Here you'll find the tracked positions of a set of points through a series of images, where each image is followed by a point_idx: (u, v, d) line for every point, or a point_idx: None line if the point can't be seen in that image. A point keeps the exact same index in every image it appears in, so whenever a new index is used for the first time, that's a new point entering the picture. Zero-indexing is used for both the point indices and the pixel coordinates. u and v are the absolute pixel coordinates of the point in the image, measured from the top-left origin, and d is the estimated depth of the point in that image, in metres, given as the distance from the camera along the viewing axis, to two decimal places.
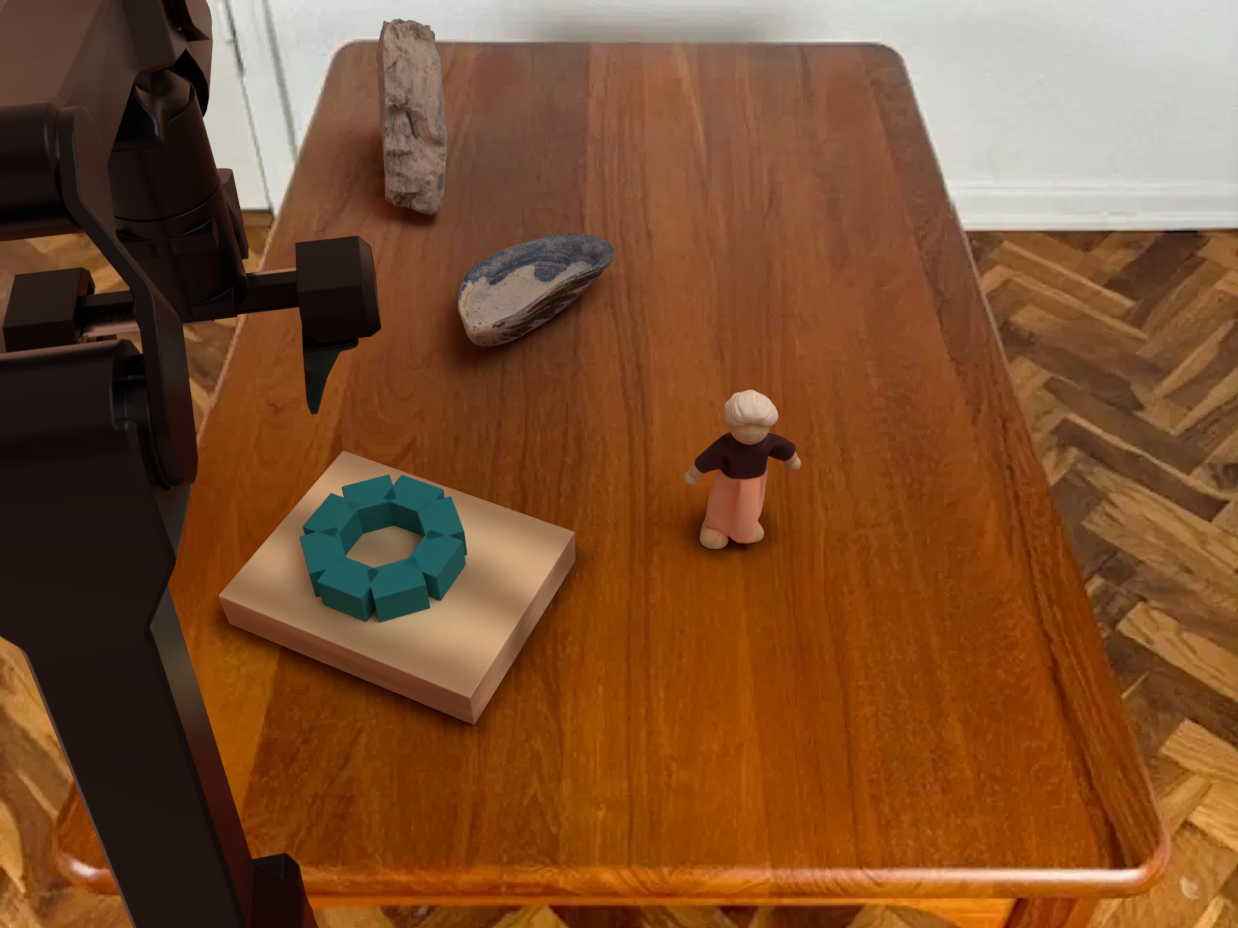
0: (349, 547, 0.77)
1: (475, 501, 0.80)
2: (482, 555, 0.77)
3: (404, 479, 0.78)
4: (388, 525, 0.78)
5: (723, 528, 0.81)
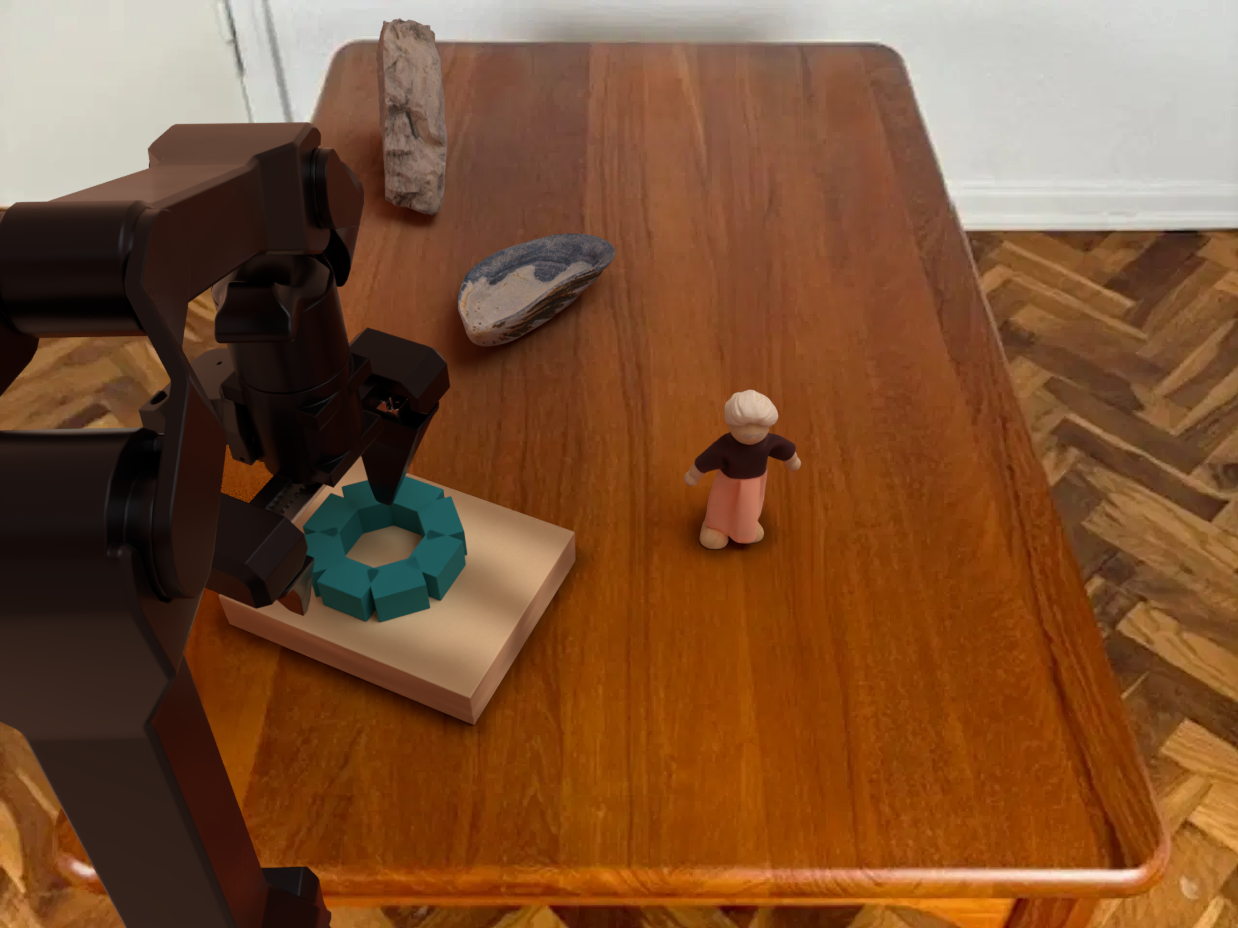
0: (349, 547, 0.77)
1: (475, 501, 0.80)
2: (482, 555, 0.77)
3: (404, 479, 0.78)
4: (388, 525, 0.78)
5: (723, 528, 0.81)
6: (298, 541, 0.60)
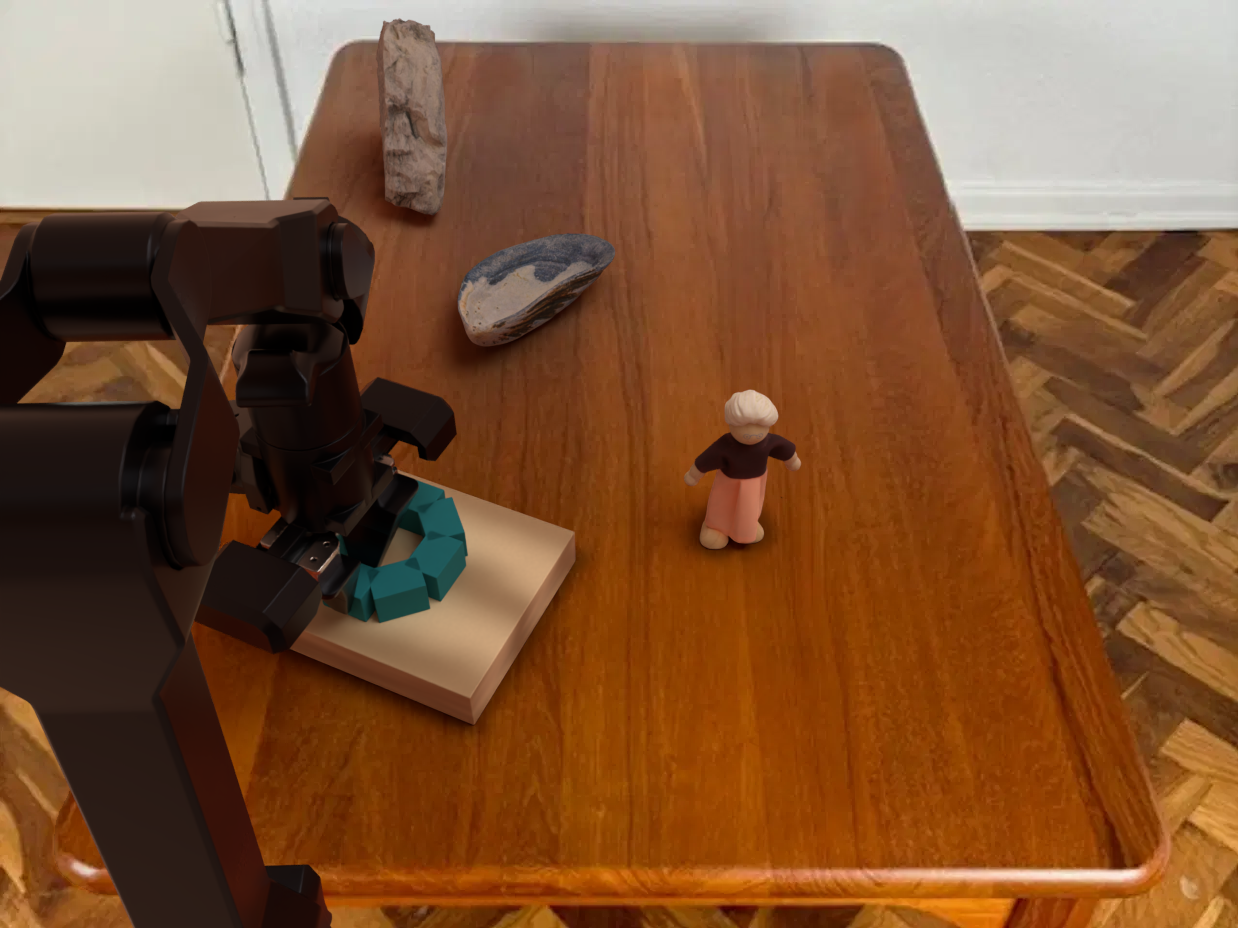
0: None
1: (475, 501, 0.80)
2: (482, 555, 0.77)
3: None
4: None
5: (723, 528, 0.81)
6: (313, 589, 0.63)
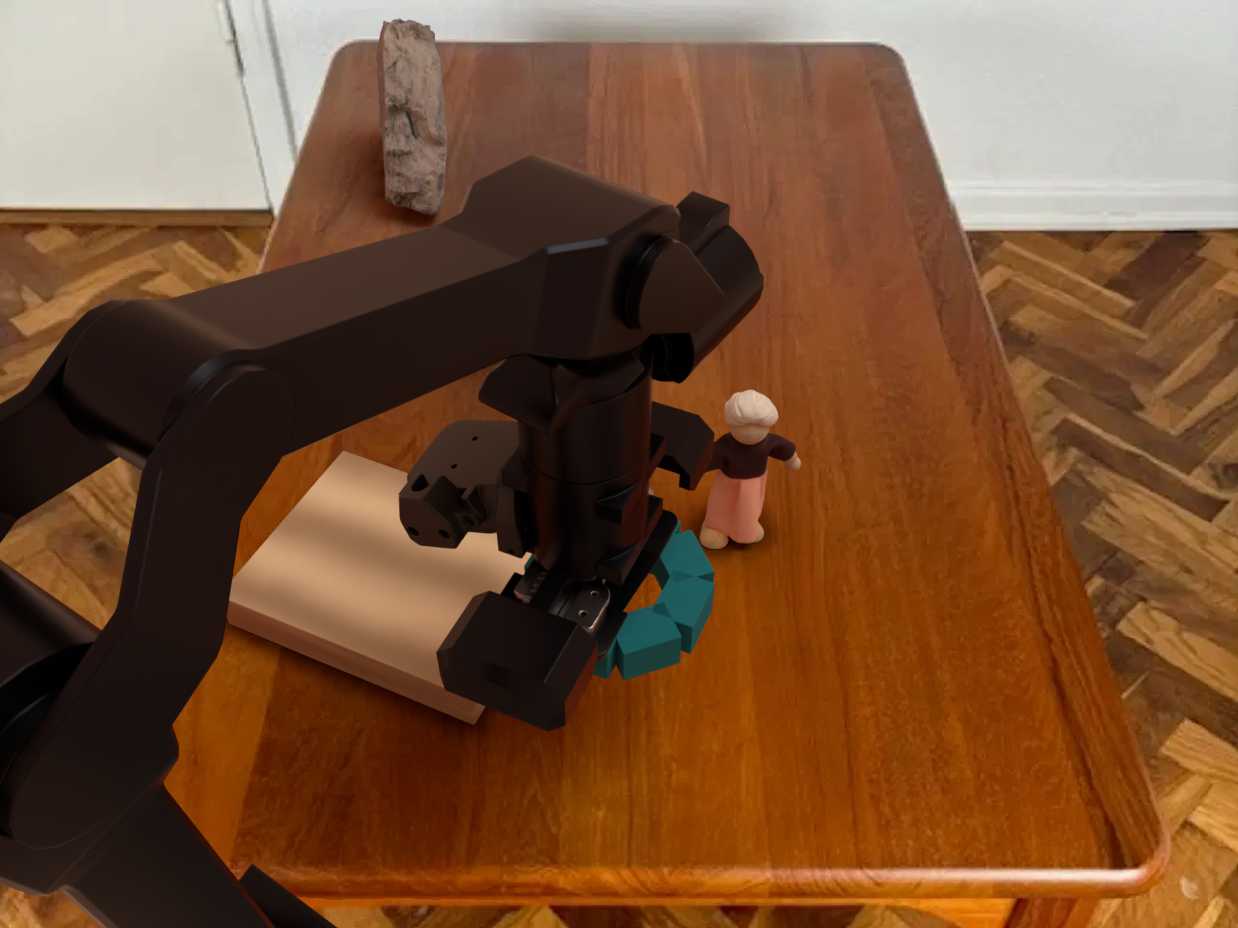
0: None
1: None
2: (482, 555, 0.77)
3: None
4: None
5: (723, 528, 0.81)
6: (592, 651, 0.52)
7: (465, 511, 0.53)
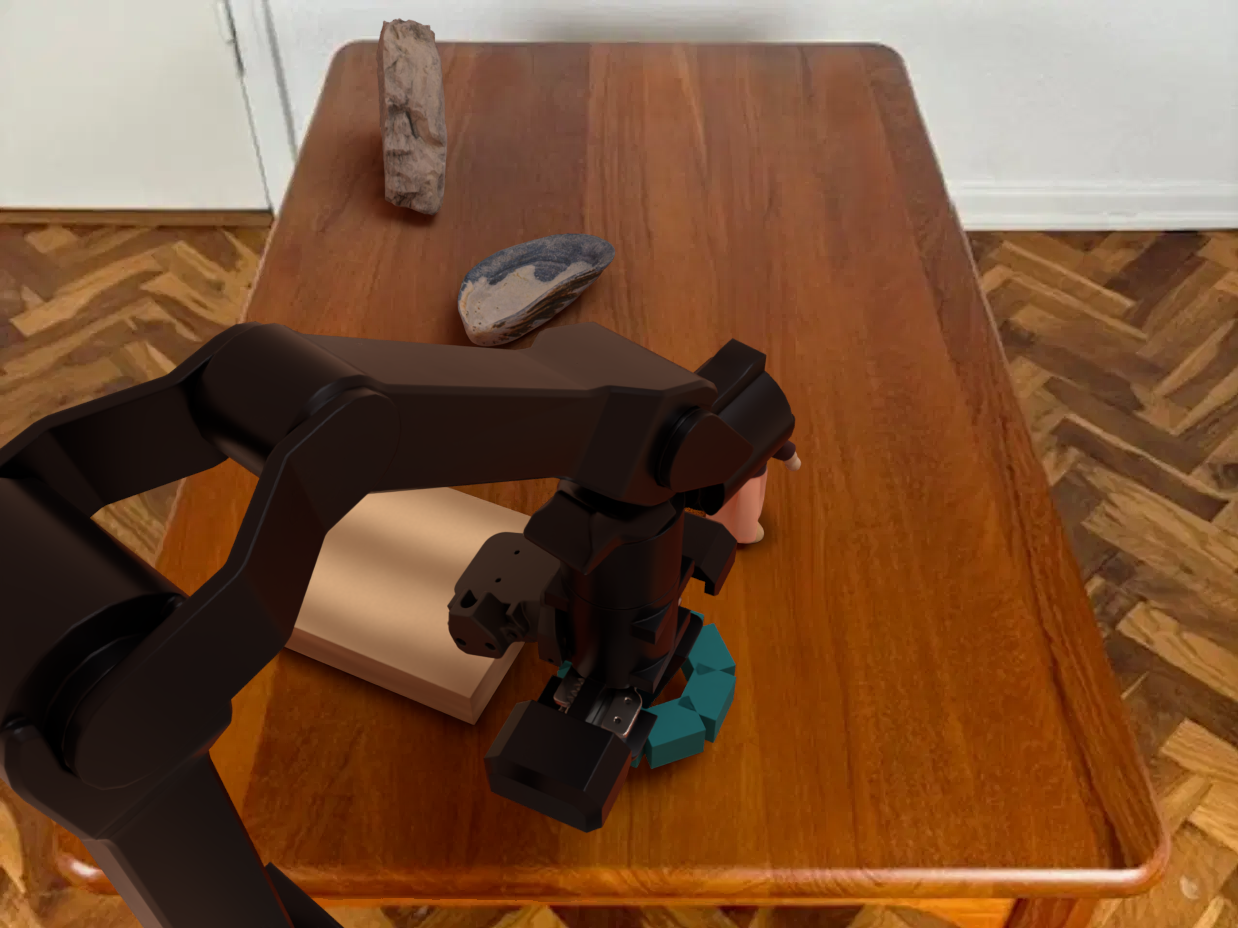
0: None
1: (475, 501, 0.80)
2: None
3: None
4: None
5: None
6: (626, 758, 0.56)
7: (509, 625, 0.58)
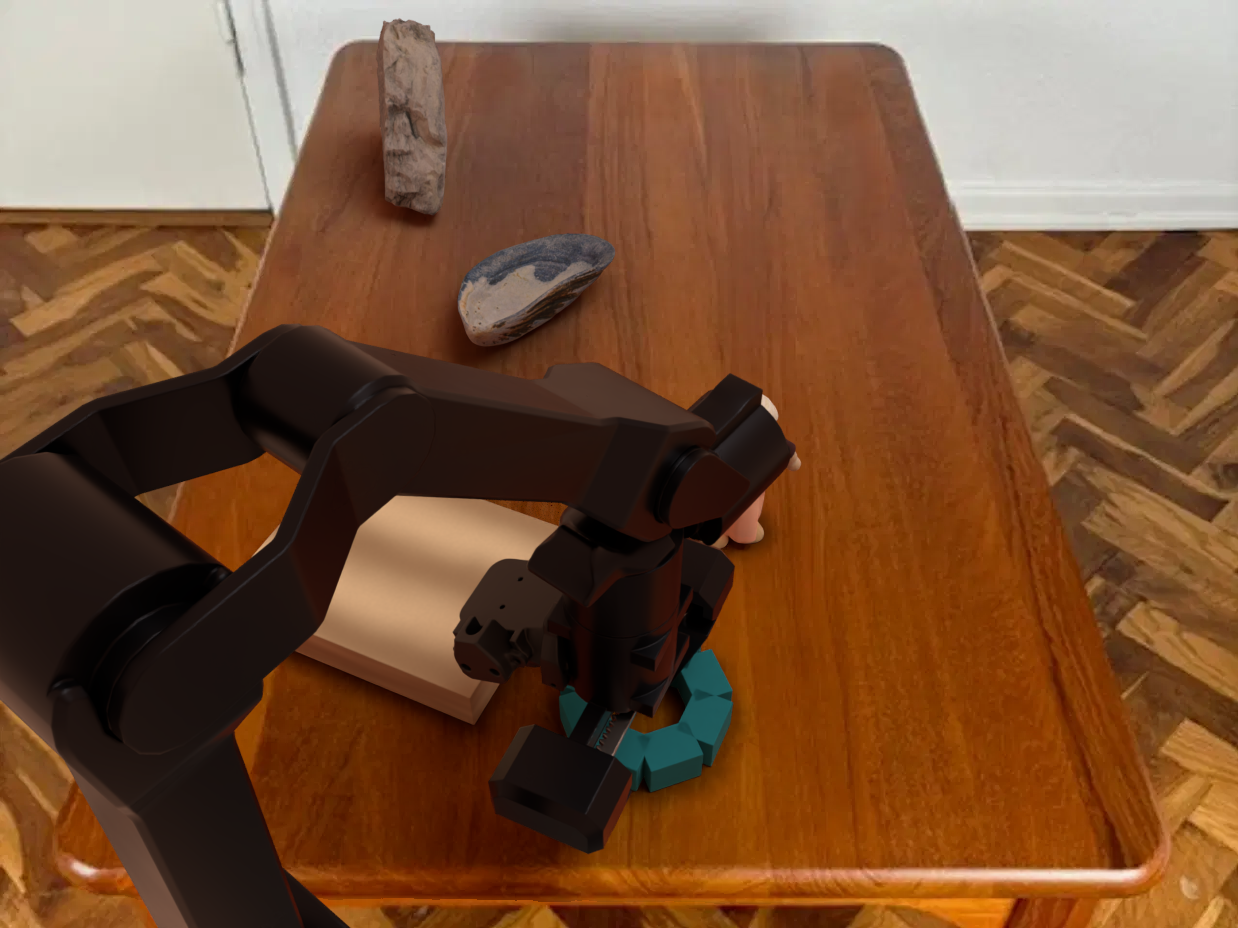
0: None
1: (475, 501, 0.80)
2: (482, 555, 0.77)
3: None
4: None
5: None
6: (627, 781, 0.58)
7: (513, 651, 0.60)
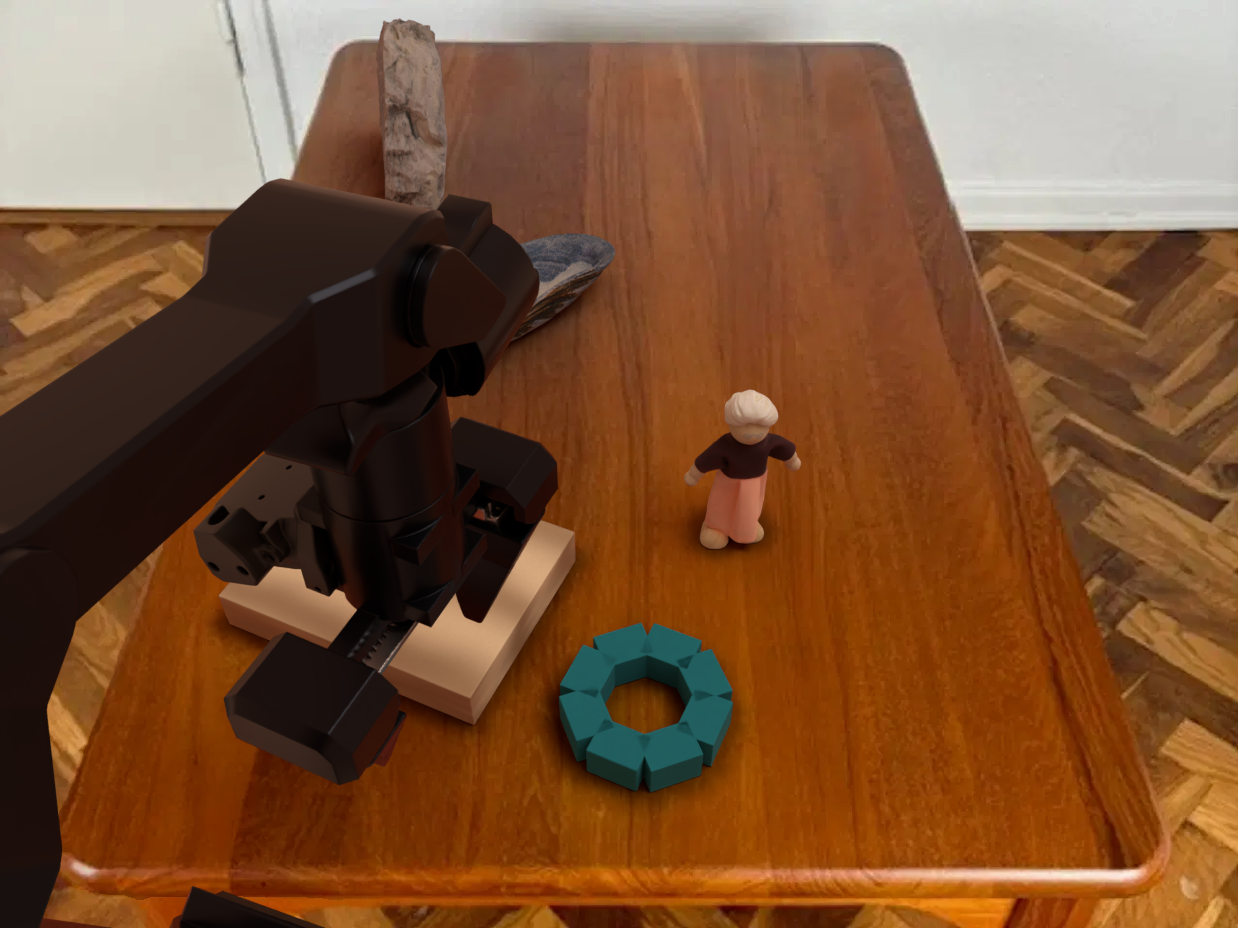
0: None
1: None
2: None
3: (658, 628, 0.74)
4: (640, 677, 0.74)
5: (723, 528, 0.81)
6: (390, 699, 0.48)
7: (265, 546, 0.50)
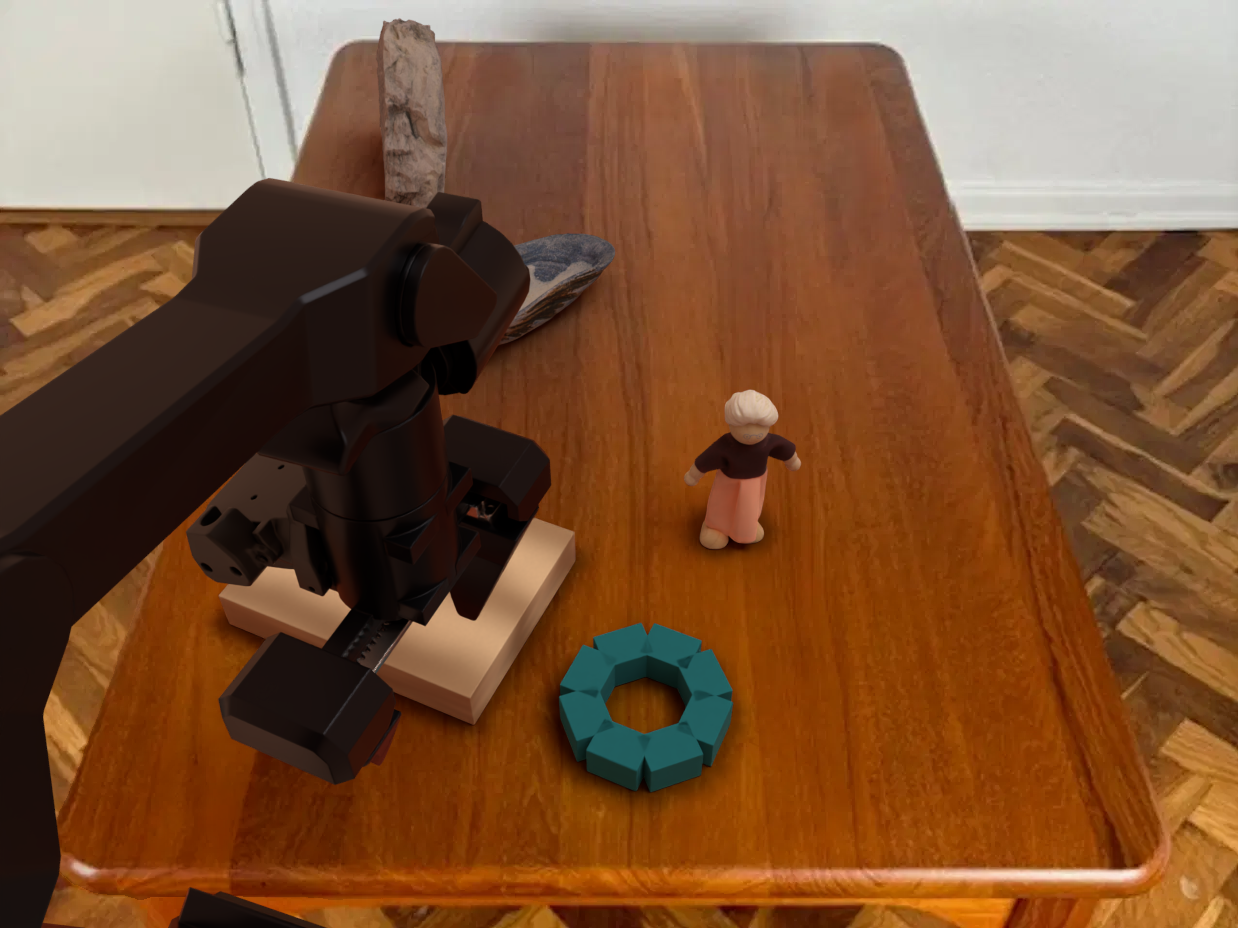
0: None
1: None
2: None
3: (658, 628, 0.74)
4: (640, 677, 0.74)
5: (723, 528, 0.81)
6: (385, 698, 0.48)
7: (258, 546, 0.50)
